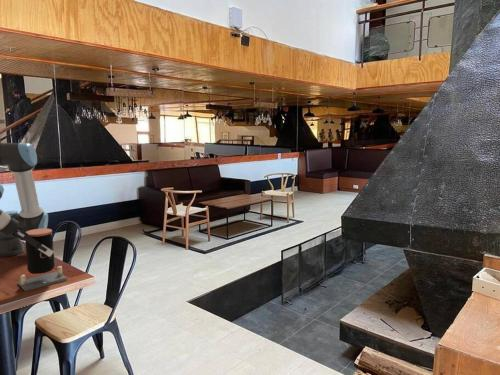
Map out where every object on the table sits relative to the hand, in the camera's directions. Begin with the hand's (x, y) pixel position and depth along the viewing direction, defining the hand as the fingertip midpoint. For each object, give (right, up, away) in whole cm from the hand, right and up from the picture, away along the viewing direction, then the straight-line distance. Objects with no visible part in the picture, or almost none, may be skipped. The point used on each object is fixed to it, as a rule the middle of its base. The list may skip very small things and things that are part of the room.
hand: (47, 251), depth 166 cm
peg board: (-2, -14, 0) cm, 14 cm away
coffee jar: (-2, -9, -1) cm, 9 cm away
